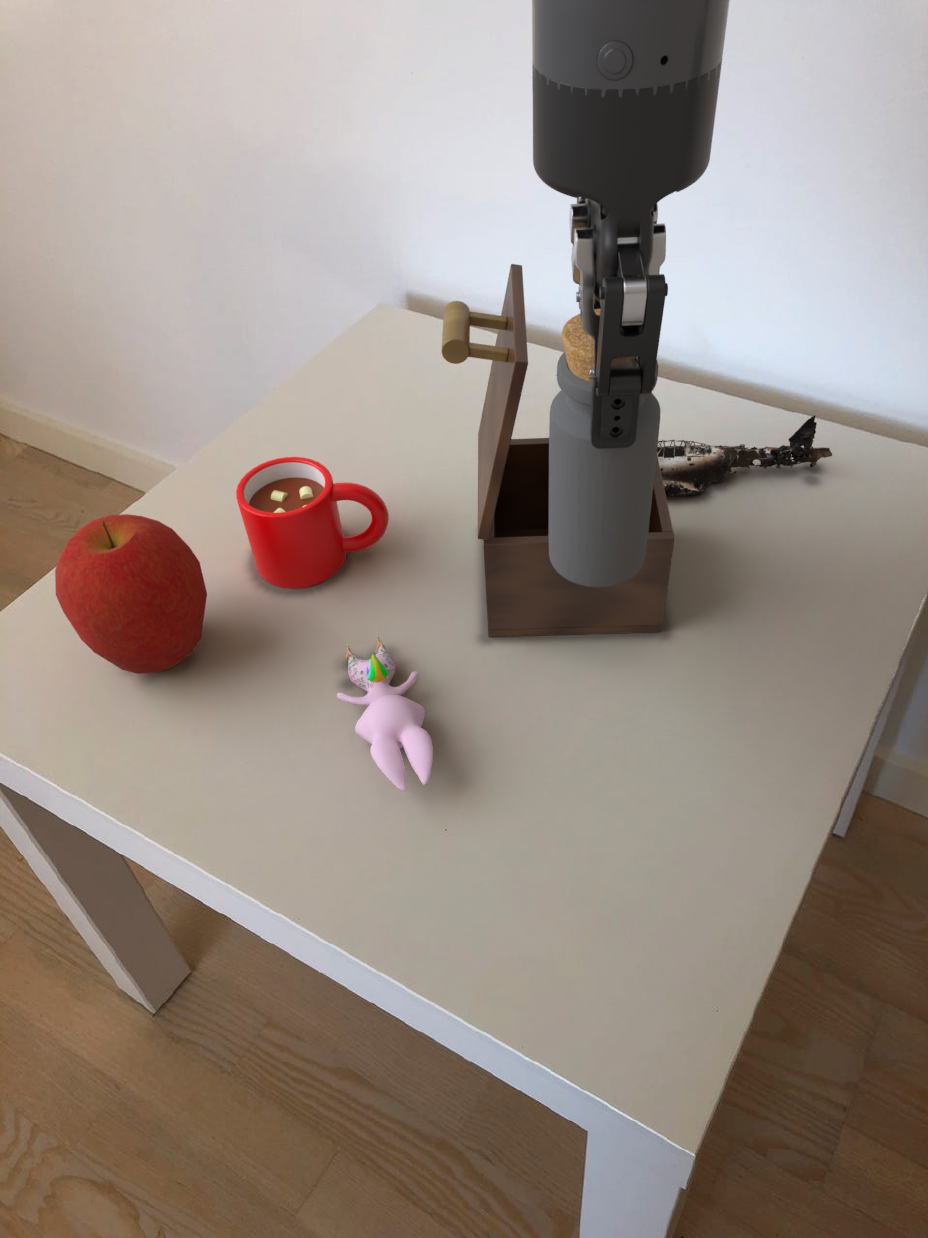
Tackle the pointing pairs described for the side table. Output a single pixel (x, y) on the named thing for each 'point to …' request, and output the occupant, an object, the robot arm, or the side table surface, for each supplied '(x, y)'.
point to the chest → (529, 584)
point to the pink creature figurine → (389, 718)
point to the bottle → (596, 478)
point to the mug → (302, 520)
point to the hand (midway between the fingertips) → (605, 406)
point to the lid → (492, 383)
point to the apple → (132, 592)
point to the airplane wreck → (730, 460)
